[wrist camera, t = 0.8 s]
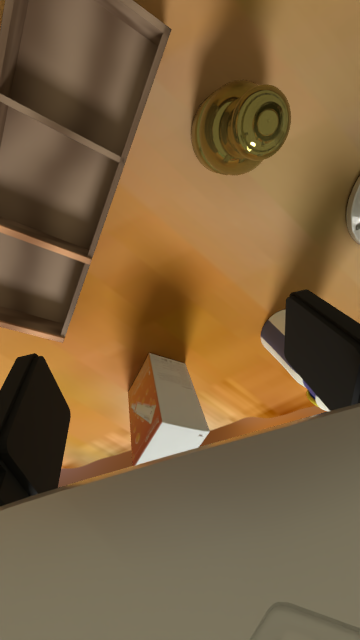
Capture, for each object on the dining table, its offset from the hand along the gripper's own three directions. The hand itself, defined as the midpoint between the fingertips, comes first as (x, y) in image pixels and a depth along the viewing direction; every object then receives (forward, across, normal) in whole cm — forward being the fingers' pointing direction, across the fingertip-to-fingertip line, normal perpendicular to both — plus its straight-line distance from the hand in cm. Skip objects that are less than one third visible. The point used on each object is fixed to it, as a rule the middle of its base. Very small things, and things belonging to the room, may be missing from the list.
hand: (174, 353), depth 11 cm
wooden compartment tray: (+25, +7, -6) cm, 27 cm away
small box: (+26, +2, +22) cm, 34 cm away
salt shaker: (+26, -11, -8) cm, 29 cm away
